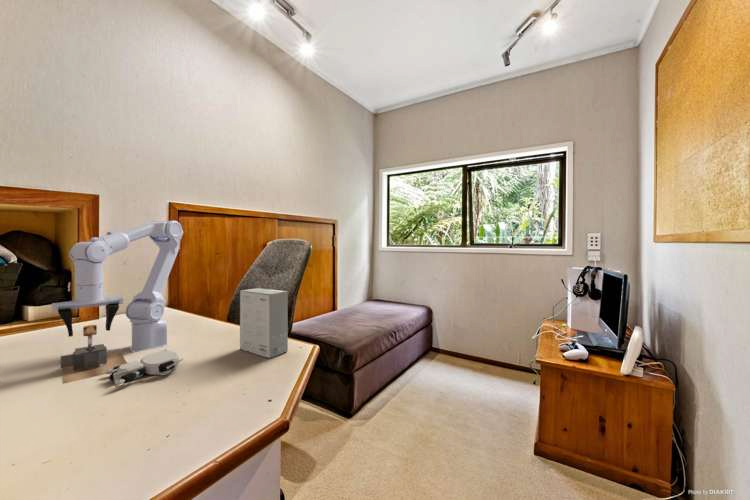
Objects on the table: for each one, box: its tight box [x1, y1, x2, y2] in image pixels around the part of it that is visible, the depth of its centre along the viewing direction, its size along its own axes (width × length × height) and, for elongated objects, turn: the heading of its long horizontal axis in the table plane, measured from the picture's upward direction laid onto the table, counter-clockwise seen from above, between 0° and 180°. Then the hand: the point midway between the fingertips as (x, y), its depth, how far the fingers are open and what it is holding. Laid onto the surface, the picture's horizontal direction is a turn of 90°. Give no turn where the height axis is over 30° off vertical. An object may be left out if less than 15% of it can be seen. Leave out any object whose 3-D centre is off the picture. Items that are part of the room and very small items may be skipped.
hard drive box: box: [239, 287, 289, 359], centre depth 101 cm, size 16×8×20 cm, turn 58°
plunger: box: [82, 324, 98, 350], centre depth 86 cm, size 5×5×7 cm
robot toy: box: [105, 348, 184, 385], centre depth 81 cm, size 12×4×15 cm
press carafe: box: [60, 343, 108, 371], centre depth 85 cm, size 9×7×5 cm
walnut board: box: [61, 351, 127, 385], centre depth 86 cm, size 13×18×1 cm
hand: (89, 332), depth 86 cm, fingers open, 7 cm apart
